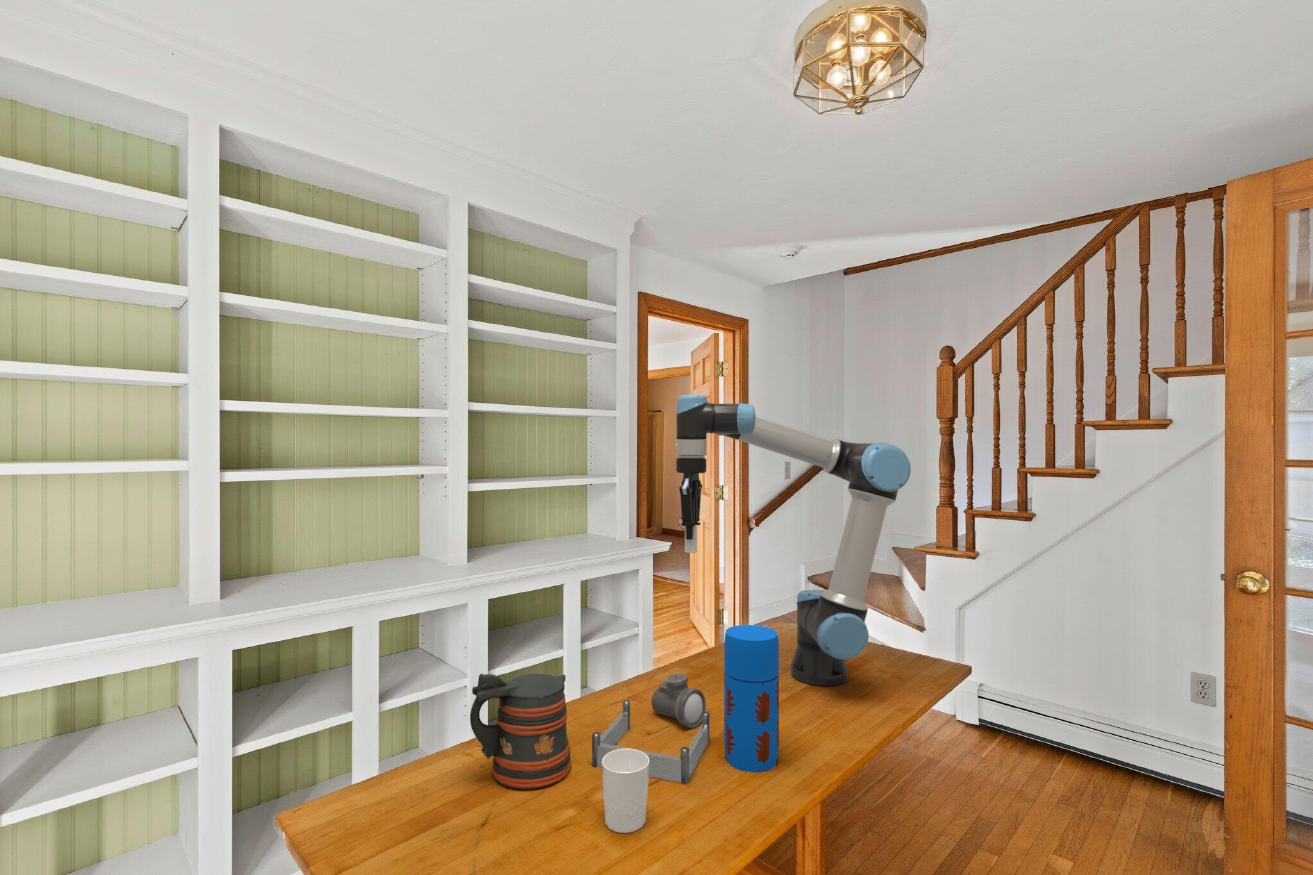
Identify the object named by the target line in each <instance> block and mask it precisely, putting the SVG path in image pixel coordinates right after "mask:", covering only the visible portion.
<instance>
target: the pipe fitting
mask: <svg viewBox="0 0 1313 875" xmlns="http://www.w3.org/2000/svg"><path fill="white" fill-rule="evenodd" d="M688 682H689V679H688V675H687V674H686V673H673V674H671V675H668V676H667V677H666V678H665V681H662V682H661V683H660V684H659V685H658V688H656V689H655V690H654V691H653V693H652V696H651V701H650V702H651V708H652V710H653V711H654V712H655V713H656V714H659V715H661V716H666V717H669V718H673V719H676V720H677V721H678V722H679V724H680V725H681V726H683V727H685V728H690V729H695V728H697V727H698V726H700V724H702V712H707V700H706V697H705V694H704V693H703V692H702V690H700V689H698V688H692V687H689V685H688Z"/></svg>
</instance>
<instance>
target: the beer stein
mask: <svg viewBox="0 0 1313 875" xmlns="http://www.w3.org/2000/svg"><path fill="white" fill-rule="evenodd" d="M566 679H567V678H566V674H562V675H558V676H556V675H555V676H554V675H552V674H551V675H550V674H545V673H528V674H527V673H526V674H522V675H519V676H516V677H514V678H511V679H509V680H503V679H502V678H501V677H500V676H498V675H496V674H492V673H487V674H485V673H484V674H483V673H480V674H479V675H478V681H477V686H472V690H471V691H472V692H471V693H472V695H474V696H475V699H474V701H473V703H472V706H471V709H470V712H469V713H470V714H469V721H470V727H471V730H472V732H473V734H474V736H475V737H476V739H477V741H478V743H479V744H480V745H481V746H482V748H481V753H482V755H483V756H485V757H486V758H487V760H489V759H490V758H491V757H492V759H493V760H492V768H491V771H492V774H493V775H494V776H493V777H494V778H495V780H497V781H498V782H499V783H500V784H501V785H502V786H506V787H510V788H512V789H516V790H533V789H539V788H543V787H544V788H545V787H548V786H551V785H554V784H557V783H558V782H560V781H561V780H562V779H564V778H565V777H566V776H567V775H568V773H569V772H570V769H571V767H572V761H571V760H572V759H571V745H570V741H569V739H568V731H567V730H568V728H567V718H568V714H567V713H568V711H567V702H566V694H565V688H566V687H565V686H566V685H565V682H566ZM492 699H499V700H498V701H499V702H498V709H497V717H496V723H495V724H485V723H483V722H482V720H481V717H480V712H481V709H482V707H483V705H484V704H485V703H486V702H487V701H489V700H492Z"/></svg>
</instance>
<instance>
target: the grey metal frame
mask: <svg viewBox="0 0 1313 875" xmlns="http://www.w3.org/2000/svg"><path fill="white" fill-rule="evenodd" d="M710 714H711V713H710V712H709V711H706V712H702V722H701V725H700V727H699V729H698V731H697V732H696V733H695V736H694V737H693V738H692V740H691V742H690V744H689V746H688V747H687V746H681V747H680V751H679V752H680V753H679V754H680V755H679V756H676V755H669V754H663V753H659V752H652V751H646V750H641V749H638V748H637V749H636V750H639V751H642V752H644V753H645V754H646V755H647V756H648V757H649V778H655V779H659V780H660V779H661V780H666V781H672V782H675V783H680V784H682V785H683V784H684V785H687V784H689V783H690V778H691V776H693V775H692V774H693V772H694V771H695V769H696V767H697V765H698V764H699V761H700V760H701V757H702V756H703V754H704V752H705V751H706V748H707V746H708V745H709V744H710V741H711V740H710V739H711V738H710V737H711V736H710V733H711V732H710V730H711V729H710V724H711V723H710V722H711V721H710V719H711V715H710ZM630 729H631V701H630V700H629V699H624V700H623V701H622V712H621V713H620V714H619V715H617V717H616V718H615V719H614V720H613V721H612V722H611V723H610V724H609V725H608V726H607V728H606V729H605V730H604V731H603V732H602V733H601V732H600V731H593V732H592V733H591V766H592V767H595V768H597V767H598V768H602V759H603V757H604V756H605V755H606V754H607V753H609V752H611V751H614V750H618V749H632V748H631V747H625V746H618V745H617V744H618V743H619V742H620V740H621V739H622V737H624V736H625V735H626V733H627V732H628V731H629V730H630Z"/></svg>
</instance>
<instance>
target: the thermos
mask: <svg viewBox="0 0 1313 875" xmlns="http://www.w3.org/2000/svg"><path fill="white" fill-rule="evenodd" d="M723 642H724V645H723V646H724V649H723V651H724V655H723V656H724V657H723V658H724V660H723V661H724V664H723V665H724V666H723V668H724V669H723V671H724V674H723V677H724V680H723V684H724V685H723V686H724V687H723V688H724V689H723V691H724V692H723V693H724V695H723V697H724V698H723V700H724V701H723V704H724V705H723V706H724V707H723V710H724V712H723V741H724V742H723V744H724V759H725V761H726V763H727V764H729V766H732V767H733V768H734V769H737V770H738V771H739V770H740V771H743V772H749V773H763V772H768V771H770V770H772V769H774V768H775V767H776V766H777V764H778V761H779V747H780V744H779V743H780V728H779V727H780V720H779V718H780V715H779V714H780V681H779V680H780V642H779V634H778V631H776V630H775V629H772V628H770V627H768V626H763V625H754V624H740V625H733V626H730V627H728V628H727V629H725V635H724V641H723Z"/></svg>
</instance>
